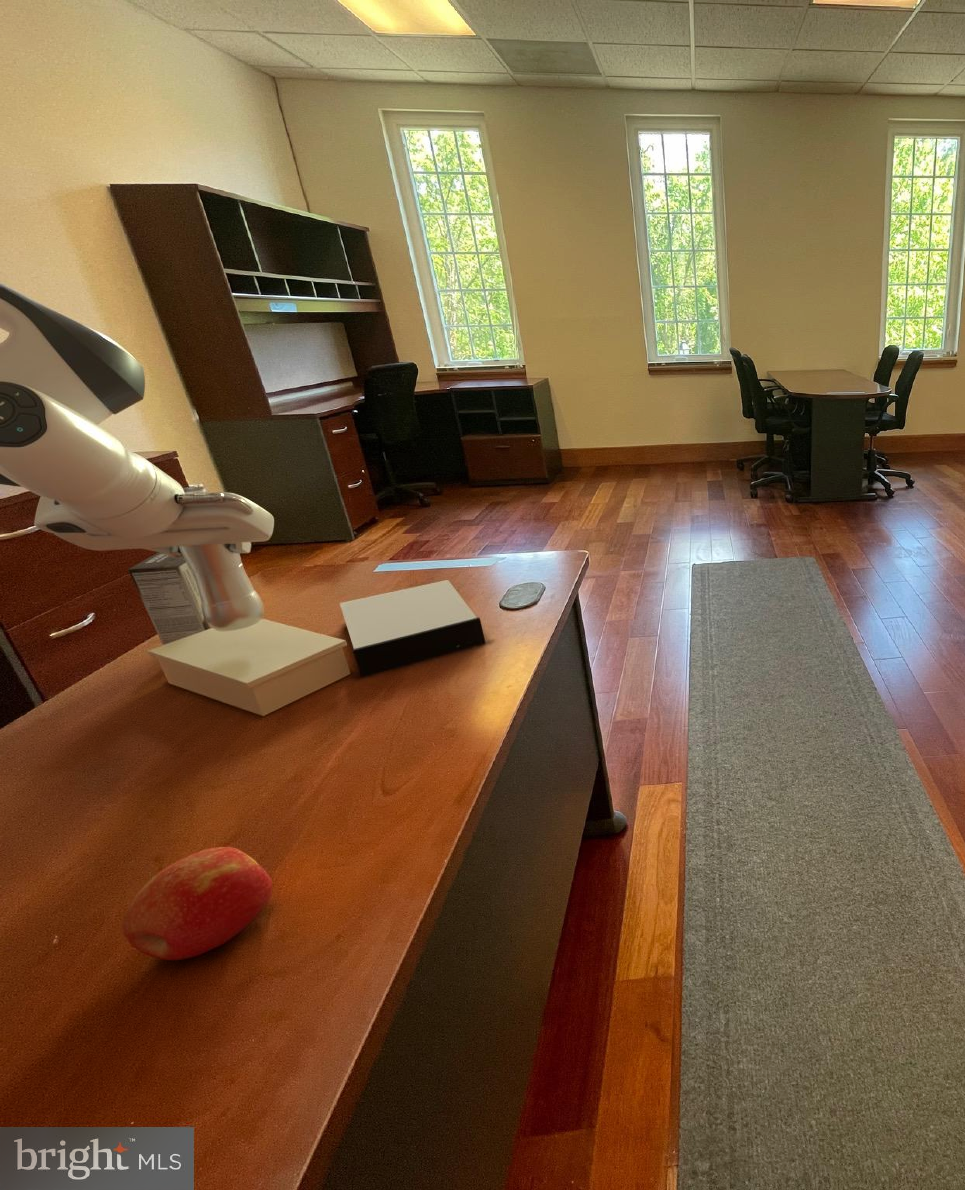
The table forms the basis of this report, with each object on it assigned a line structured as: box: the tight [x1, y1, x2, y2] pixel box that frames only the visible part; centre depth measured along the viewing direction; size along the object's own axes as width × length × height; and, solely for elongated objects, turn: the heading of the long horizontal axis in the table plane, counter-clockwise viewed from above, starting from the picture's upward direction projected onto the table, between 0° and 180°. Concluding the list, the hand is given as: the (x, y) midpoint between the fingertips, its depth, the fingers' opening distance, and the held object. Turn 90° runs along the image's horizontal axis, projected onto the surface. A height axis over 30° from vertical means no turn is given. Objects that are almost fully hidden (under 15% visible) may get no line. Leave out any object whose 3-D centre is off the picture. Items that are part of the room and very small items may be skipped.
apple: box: [122, 846, 273, 961], centre depth 52 cm, size 8×8×8 cm
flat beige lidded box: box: [147, 618, 351, 717], centre depth 90 cm, size 23×13×6 cm, turn 68°
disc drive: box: [339, 579, 486, 678], centre depth 104 cm, size 18×22×5 cm
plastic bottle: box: [177, 486, 265, 631], centre depth 84 cm, size 6×7×20 cm
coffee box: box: [127, 552, 212, 645], centre depth 97 cm, size 9×6×16 cm
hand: (213, 550), depth 84 cm, fingers closed on plastic bottle, 6 cm apart
